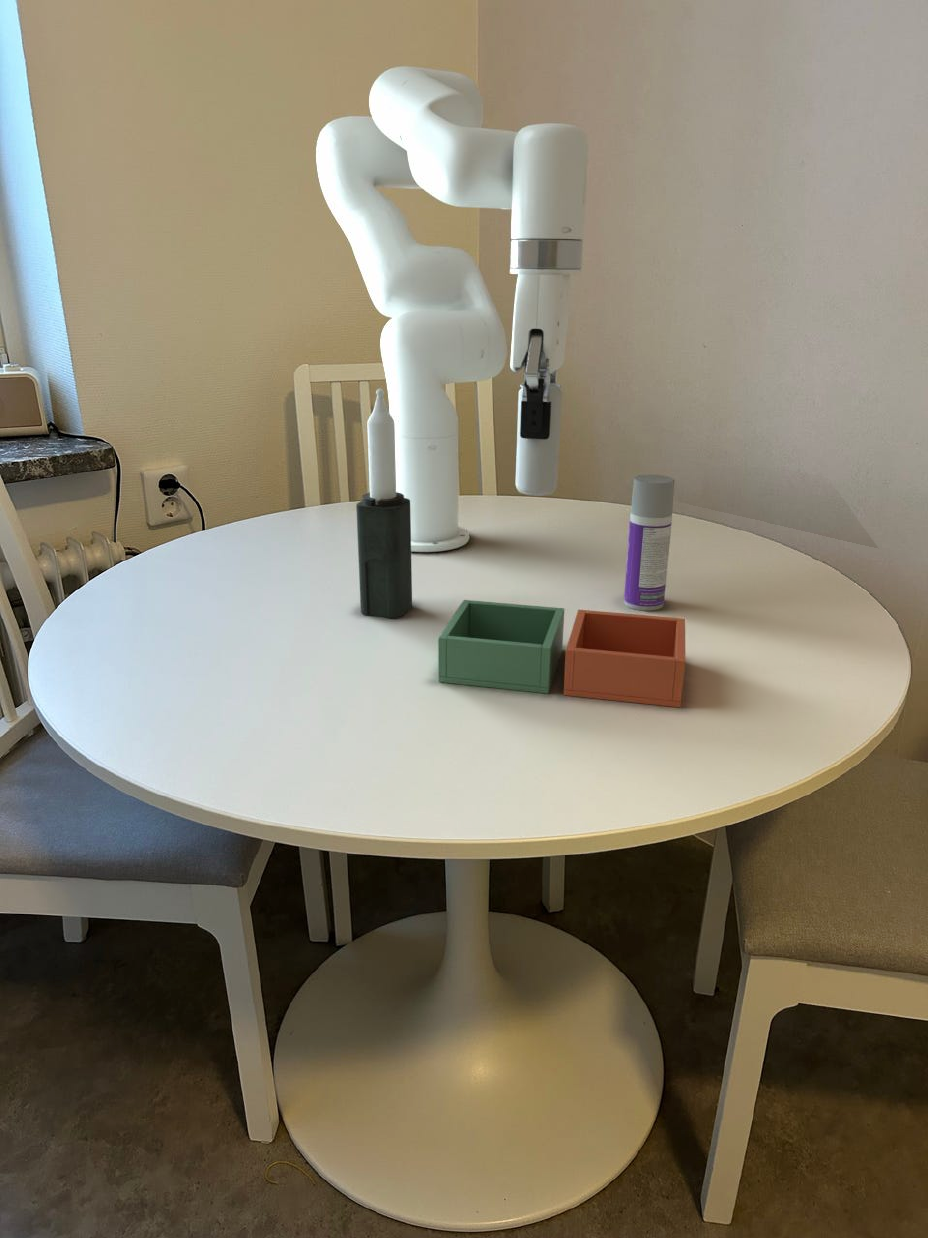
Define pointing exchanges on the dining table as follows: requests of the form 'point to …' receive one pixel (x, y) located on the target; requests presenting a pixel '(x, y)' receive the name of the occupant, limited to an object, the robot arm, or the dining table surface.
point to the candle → (383, 525)
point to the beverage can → (539, 452)
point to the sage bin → (501, 646)
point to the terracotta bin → (626, 658)
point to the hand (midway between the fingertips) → (538, 432)
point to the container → (649, 542)
